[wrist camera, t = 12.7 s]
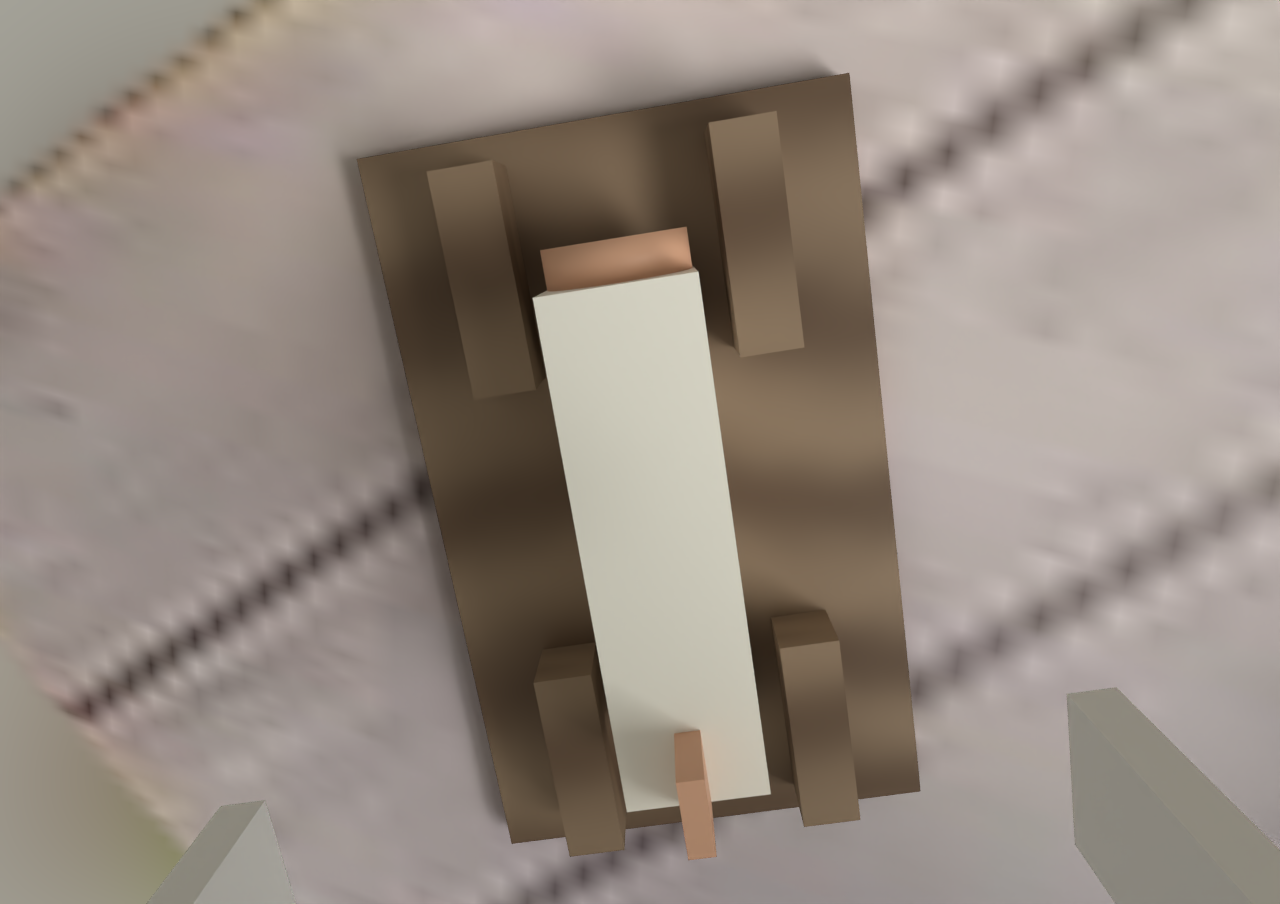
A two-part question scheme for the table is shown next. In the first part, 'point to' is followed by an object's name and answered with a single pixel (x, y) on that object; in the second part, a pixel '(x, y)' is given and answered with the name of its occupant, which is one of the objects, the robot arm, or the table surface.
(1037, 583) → the table surface
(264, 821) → the robot arm
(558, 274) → the block
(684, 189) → the cradle
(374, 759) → the table surface
